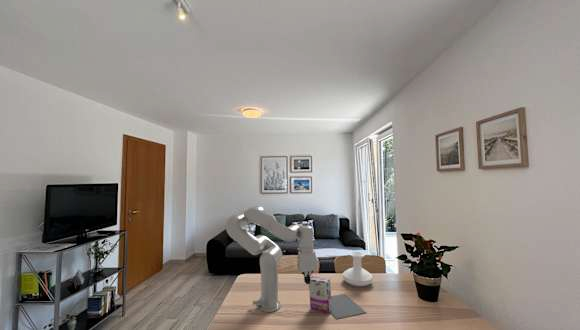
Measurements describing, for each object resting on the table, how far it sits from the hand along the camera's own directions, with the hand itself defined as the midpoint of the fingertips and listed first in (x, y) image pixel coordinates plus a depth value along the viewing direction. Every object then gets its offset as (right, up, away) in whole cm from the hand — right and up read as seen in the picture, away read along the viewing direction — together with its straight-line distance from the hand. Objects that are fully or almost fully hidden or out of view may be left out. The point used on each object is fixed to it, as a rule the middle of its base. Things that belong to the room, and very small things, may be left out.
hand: (307, 283), depth 133 cm
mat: (+20, -16, +6) cm, 26 cm away
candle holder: (+37, -17, +36) cm, 54 cm away
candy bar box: (+8, -16, +2) cm, 17 cm away
